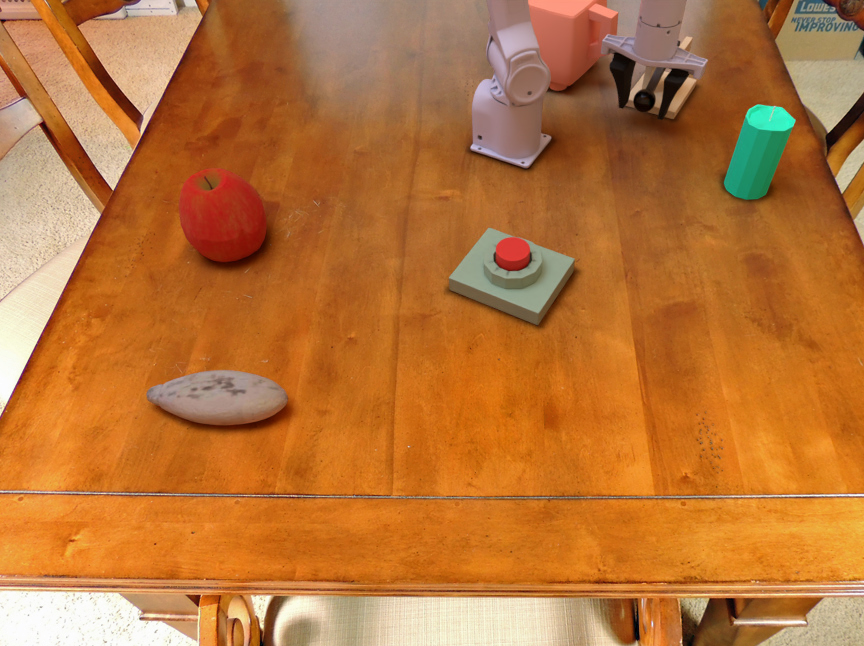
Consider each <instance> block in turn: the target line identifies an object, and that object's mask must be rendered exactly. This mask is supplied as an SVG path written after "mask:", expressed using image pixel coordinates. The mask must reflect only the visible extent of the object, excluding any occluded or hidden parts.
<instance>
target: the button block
mask: <svg viewBox="0 0 864 646" xmlns="http://www.w3.org/2000/svg"><path fill="white" fill-rule="evenodd" d="M509 237H515V236H514V235H511V234H509V233H506V232H503V231H499V230H497V229H495V228H492V227H488V228H487V229H486V230H485V232H484V233H483V234H482V235H481V237H480V238H479V239H478V240H477V241H476V243H475V244H474V245H473V246H472V248H471V249H470V250H469V251H468V253H467V254H466V255H465V256H464V258H463V259H462V260H461V261H460V262H459V264H458V265H457V267H456V268H455V269H454V270H453V271H452V273H451V274H450V275H449V276H448V285H449V290H450V291H451V292H453V293H456V294H459V295H461V296H463V297H466V298H468V299H470V300H473V301H476V302H479V303H480V304H484V305H487V307H490V308H493V309H496V310H499V311H501V312H503V313H506V314H509V315H511V316H513V317H516V318H518V319H520V320H523V321H525V322H528V323H530V324H533V325H536V326H539V325H540V323H542V320H543V318H544V317H545V315H546V314H547V313H548V311H549V309H550V308H551V307H552V305H553V303H554V302H555V300H556V299H557V297H558V296H559V294H560V292H561V291H562V290H563V288H564V286H565V285H566V284H567V282H568V281H569V279H570V278H571V276H572V274H573V273H574V270H575V262H576V258H574V257H571V256H569V255H566V254H563V253H560V252H558V251H555V250H552V249H550V248H546V247H544V246H542V245H538V244H536V243H534V242H533V241H531V240H528V239H526V238H523V237H520V236H516V237H517V238H521V239H523V240H525V241H526V242H527V243H528V244H529V246H530V261H529V264H528V265H527V266H526V267H525V268H524V269H522V270H520V271H507V270H504V269H502V268H500V267H499V266H498V265H497V263H496V246H497V244H498V243H499V242H500V241H501V240H503V239H505V238H509Z"/></svg>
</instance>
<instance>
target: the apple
mask: <svg viewBox="0 0 864 646" xmlns="http://www.w3.org/2000/svg"><path fill="white" fill-rule="evenodd" d="M181 187H182V188H181V190H180V194H179V200H178V216H179V223H180V227H181V229H182V231H183V235H184V237H185V239H186V240H187V242H188V243H189V244H190V245H191V246H192V248H194V249H195V250H196V251H197V252H198V253H199V254H200V255H201V256H202V257H205V258H206V259H208V260H211V261H213V262H218V263H229V262H237V261H239V260H242V259H245V258H247V257H250V256H251V255H253V254H254V253H255V252H257V251H259V250H260V248H261V246H262V245H263V243H264V241H265V238H266V235H267V231H268V229H267V221H268V220H267V214H266V210H265V208H264V203H263V201H262V198H261V197H260V196H259V194H258V193H257V191H256V189H255V188H254V186H253V185H251V184H250V183H249V182H248V180H245V178H243V177H241V176H240V175H238V174H237V173H235V172H233V171H231V170H227V169H224V168H222V167H221V168H218V167H215V168H211V167H210V168H208V167H207V168H205V169H202V170H199V171H197V172H195V173H193V174H191V175H190V176H189V177H188V178H187V179H186V180H185V181H184V182H183V185H182V186H181Z"/></svg>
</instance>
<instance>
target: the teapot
mask: <svg viewBox="0 0 864 646" xmlns="http://www.w3.org/2000/svg"><path fill="white" fill-rule="evenodd" d="M528 4H529V11H530V17H531V23H532V26H533V29H534V32H535V35H536V38H537V41H538V45H539V49H540V55H541V58H542V60H543V61H544V62H545V63H546V65H547V66H548V68H549V70H550V74H551V81H550V85H549V89H551V90H553V91H556V92H559V91H565V90H566V89H567V87H569V86H571V85H573V84H574V83H575V82H577V81H578V80H579V79H580V78H582V76H583V75H584V74H585V73H587V72H588V71H589V70H590V69H591V68H592V67H593V66H594V65H595V63H597V62H598V61H599V60H600V59H601V58H602V57H605V56H610V54H611V53H609V54H608V55H604V54H601V47H602V40H603V39H604V38H605V37H606V36H607V34H610V35H615V36H618V25H619V24H618V23H619V11H616V10H614V9H611V8H609V7H608V0H528Z"/></svg>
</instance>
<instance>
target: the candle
mask: <svg viewBox="0 0 864 646" xmlns="http://www.w3.org/2000/svg"><path fill="white" fill-rule="evenodd" d="M796 121H797V120H796V118H794V117H793V116H792V115H791V114H790V112H788V111H787V110H786V109H785V108H783V106H776V105H765V104H756V105H754V106H752V107H750V108H749V109H748V110H747V112H746V114H745V117H744V120H743V123H742V126H741V129H740V132H739V135H738V138H737V141H736V144H735V147H734V151H733V153H732V156H731V159H730V162H729V166H728V168H727V171H726V174H725V177H724V180H723V185H724V188H725V190H726V192H728V193H730V194H731V195H732V196H733V197H735V198H739V199H742V200H746V201H747V200H759V199H761V198H763V197H764V196H766V195H767V194H768V191H769V188H770V186H771V183H772V182H773V181H772V180H773V178H774V176H775V173H776V171H777V168H778V165H779V163H780V161H781V159H782V155H783V153H784V151H785V149H786V146H787V144H788V141H789V138H790V136H791V133H792V131H793V128H794V125H795V123H796Z"/></svg>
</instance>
